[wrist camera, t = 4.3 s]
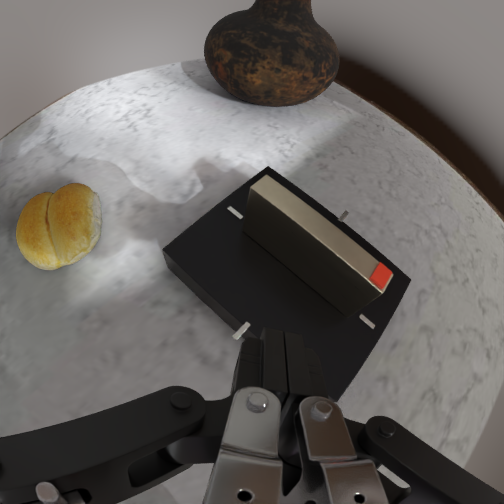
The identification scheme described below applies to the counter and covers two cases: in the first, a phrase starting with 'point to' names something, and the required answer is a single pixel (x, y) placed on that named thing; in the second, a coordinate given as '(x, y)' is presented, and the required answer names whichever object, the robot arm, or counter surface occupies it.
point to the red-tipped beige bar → (313, 247)
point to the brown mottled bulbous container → (272, 53)
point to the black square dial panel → (279, 287)
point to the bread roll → (59, 226)
